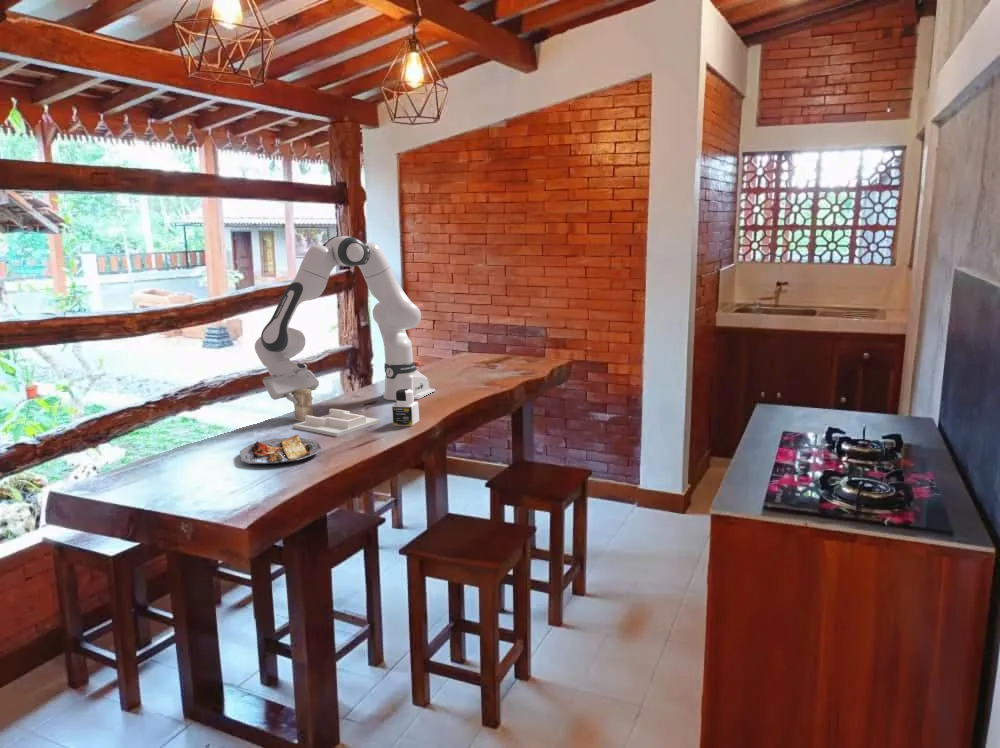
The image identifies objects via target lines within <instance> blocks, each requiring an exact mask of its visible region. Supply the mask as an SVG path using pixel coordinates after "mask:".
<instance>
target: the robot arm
mask: <svg viewBox="0 0 1000 748" xmlns="http://www.w3.org/2000/svg"><path fill="white" fill-rule="evenodd" d="M338 265H339V266H342V267H358V268H359V270H360V272H361V274H362V276H363V278H364V280H365V283H366V285H367V287H368V289H369V291H370V294H371V295H372V297H374V299H376V300H377V301H378V302H377V303H376V304H375V305H374V307H373V308H372V318H373V320H374V322H376V324H377V326H378V329H379V332H380V334H381V338H382V342H383V348H384V361H385V363H384V373H385V376H384V391H383V396H382V397H383V399H384V400H387V401H396V392H397V391H398V390H401V389H410V390H412V391H413V395H414V400H420V399H422V398H424V396H425V397H427V396H429V395H431V394H433V393H432V392H434V391H435V392H436V389H435V388H433V387H432V388H431V387H430V383H429V379H428V378H427V376H425V375H424V374H422V373H421V372H419V370H418V369H417V367H420V366H421V362H420V361H414V354H413V343H412V340H411V339H410V337H409V336H408V334H407V330H410V329H414V328H416V327H418V326H419V324H420V322H421V319H422V312H421V310H420V308H419V307H418V306H417V305H416V304H415V303H413V302H412V301H411V299H410V298H409V297H408V296H407V294H406V293H405V291H404V290H403V288H402V287H401V286H400V284H399V282H398V281H397V279H396V276H395V274H394V271H393V269H392V268H391V265H390V262H389V261H388V259H387V257H386V255H385V253H384V252H383V250H382V249H381V247H380V246H379V245H378V244H377V243H374V242H367V243H364V242H363V241H361V240H360V239H358V238H356V237H354V236H349V235H342V236H340V235H338V236H333V237H331V238H329V239H328V240H327V241H326V242H325V243H324V244H323V245H322V244H314V245H312V246H309V249H308V250H307V252H306V253H305V255H304V256H303V259H302V262H301V263H300V265H299V269H298V271H297V273H296V275H295V277H294V280H293V281H292V282H291V283H290V284H289V285H288V286H287V288H286V289H285V291H284V292H283V294H282V296H281V298H280V301H279V302H278V304H277V307H276V308H275V311H274V313H273V315H272V317H271V318H270V320H269V321H268V323H266V325H265V326H264V327H263V329H262V331H261V335H260V336H259V337H258V338H257V340H256V341H255V343H254V350H255V354H256V355H257V357H258V359H259V360H260V362H261V364H262V365H263V366H264V367H266V369H267V371H268V373H269V376H265V377H264V378H262V383H263V385H264V386H265V389H266V391H267V393H268V395H269V397H270V398H271V399H272V400H275V401H276V400H279V399H285V398H286V400H287V401H289V402H292V403H293V406H294V405H297V404H299V403H300V401H299V399H298V398H295V397H293V392H294V391H295V390H299V389H303V388H305V389H311V392H312V391H316V390H317V388H318V387H319V385H320V382H319V379H318V378H317V376H316V375H315V374H314V373H313V372H312V370H310V369H308V366H307V364H306V363H303V362H302V363H301V362H294V361H291V359H292V358H294V357H295V356H296V355H298V354H300V353H301V352H302V351H303V350H304V348H305V346H306V338H305V335H304V333H303V332H302V331H301V330H298V329H295V328H292V327H289V325H290V323H291V320H292V318H293V316H294V314H295V312H296V309H298V307H299V306H300V304H302V303H303V302H306V301H308V300H309V301H310V300H313V299H317V298H318V297H320V296H321V295H322V294H323V293H324V290H326V286H327V284H328V281H329V278H330V276H331V273H332V271H333V269H334V268H335V267H336V266H338ZM435 392H434V393H435ZM430 393H431V394H430ZM428 394H429V395H428ZM426 395H427V396H426ZM312 400H314V399H313V397H312Z"/></svg>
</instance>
